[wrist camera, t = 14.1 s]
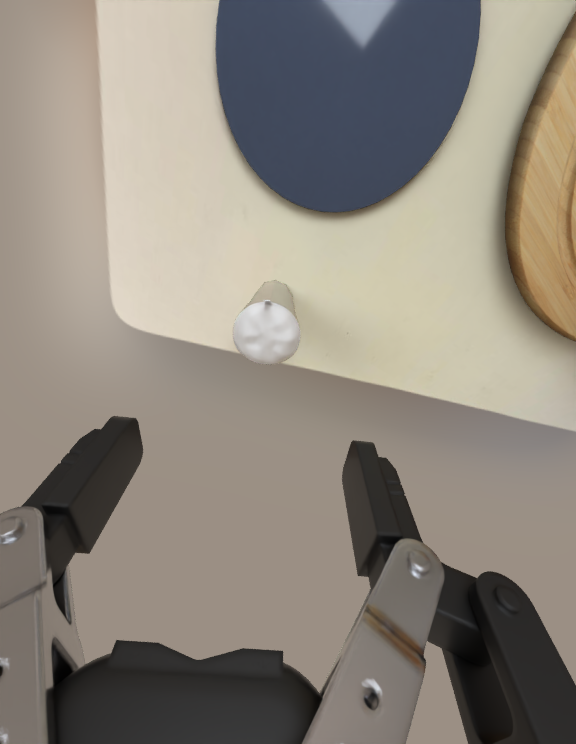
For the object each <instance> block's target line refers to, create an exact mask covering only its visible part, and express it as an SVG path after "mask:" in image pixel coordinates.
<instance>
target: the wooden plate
mask: <svg viewBox="0 0 576 744" xmlns="http://www.w3.org/2000/svg"><path fill="white" fill-rule="evenodd" d="M505 238H506V246H507V254H508V259H509V263H510V268H511V271H512V274H513V277H514V280H515V283H516V285H517V287H518V289H519V291H520V293H521V295H522V297H523V298H524V300H525V302H526V303H527V305H528V306H529V307H530V309H531V310H532V311H533V312H534V313H535V314H536V315H537V316H538V317H539V318H540V319H541V320H542V321H543V322H544V323H545V324H546V325H548V326H549V327H550V328H551V329H553V330H554V331H556V332H558V333H559V334H561V335H563V336H564V337H567V338H569V339H571V340H573V341H576V12H575V14H574V16H573V17H572V19H571V21H570V23H569V25H568V27H567V28H566V30H565V32H564V34H563V36H562V38H561V40H560V41H559V43H558V45H557V47H556V49H555V51H554V53H553V55H552V57H551V59H550V61H549V63H548V66H547V68H546V70H545V72H544V74H543V76H542V79H541V81H540V83H539V85H538V88H537V90H536V93H535V95H534V97H533V100H532V102H531V104H530V107H529V110H528V112H527V115H526V117H525V120H524V123H523V126H522V129H521V132H520V136H519V139H518V143H517V147H516V151H515V155H514V159H513V164H512V169H511V175H510V180H509V185H508V192H507V202H506V212H505Z"/></svg>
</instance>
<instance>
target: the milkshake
mask: <svg viewBox="0 0 576 744" xmlns="http://www.w3.org/2000/svg"><path fill="white" fill-rule="evenodd" d="M233 339H234V343H235V345H236V347H237V349H238V351H239V352H240V353H241V354H242V355H244V356H245V357H247V358H248V359H249V360H251V361H253V362H255V363H258V364H266V365H267V364H268V365H269V364H270V365H272V364H277V363H280V362H283V361H285V360H287V359H288V358H290V357H291V356H292V355H293V354H294V353H295V352H296V350H297V348H298V345H299V342H300V327H299V324H298V320H297V317H296V312H295V307H294V301H293V296H292V294H291V292H290V290H289V288H288V287H287V285H286V284H284V283H281V282H279V281H277V280H273V281H268V282H264V283H263V285H262V286H261V287H260V288H259V289H258V291H257V292H256V293H255V295H254V296H253V298H252V299H251V301H250V302H249V303H248V304H247V305H246V306H245V308H244V309H243V310H242V311H241V312H240V314H239V315H238V316H237V318H236V320H235V323H234V327H233Z"/></svg>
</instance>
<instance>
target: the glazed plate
mask: <svg viewBox="0 0 576 744" xmlns="http://www.w3.org/2000/svg"><path fill="white" fill-rule="evenodd" d="M480 15H481V4H480V0H219V8H218V16H217V24H216V65H217V76H218V83H219V89H220V95H221V99H222V103H223V107H224V111H225V115H226V118H227V120H228V123H229V126H230V129H231V132H232V134H233V136H234V138H235V140H236V142H237V144H238V146H239V148H240V150H241V152H242V154H243V155H244V157H245V158H246V160H247V162H248V163H249V165H250V166H251V167H252V169H253V170H254V171H255V172H256V173H257V175H258V176H259V177H260V178H261V179H262V180H263V181H264V182H265V183H266V184H267V185H268V186H269V187H270V188H271V189H272V190H274V191H275V192H276V193H278V194H279V195H280V196H282V197H283V198H285V199H287V200H289V201H291V202H292V203H294V204H296V205H299V206H302V207H305V208H307V209H311V210H316V211H321V212H346V211H352V210H356V209H361V208H364V207H367V206H369V205H372V204H374V203H377V202H379V201H381V200H382V199H384V198H386V197H388V196H390V195H391V194H393V193H394V192H396V191H397V190H398V189H400V188H401V187H403V186H404V185H405V184H406V183H407V182H408V181H410V180H411V179H412V178H413V177H414V176H415V175H416V174H417V173H418V172H419V171H420V170H421V169H422V168H423V167H424V165H425V164H426V163H427V162H428V161H429V160H430V158H431V157H432V156H433V154H434V153H435V152H436V150H437V149H438V147H439V146H440V145H441V143H442V141H443V140H444V138H445V136H446V135H447V133H448V131H449V130H450V128H451V126H452V124H453V122H454V120H455V118H456V115H457V113H458V111H459V109H460V107H461V104H462V102H463V99H464V96H465V93H466V91H467V88H468V85H469V81H470V77H471V74H472V70H473V66H474V62H475V57H476V51H477V45H478V39H479V28H480Z"/></svg>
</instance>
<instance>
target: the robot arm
mask: <svg viewBox="0 0 576 744" xmlns="http://www.w3.org/2000/svg"><path fill="white" fill-rule="evenodd" d="M142 455H143V446H142V441H141V435H140V430H139V425H138V421H137V420H136V418H128V417H118V416H113V417H111V418H110V419H109V420H108V422H107V423H106V424H105V425H104V427H103V428H102V429H101V430H100V429H94V430H93V431H91V432H90V433H88V434H87V435H85V436H84V437H82V438H81V439H79V441H78V442H77V443H76V444H75V445H74V446H73V448H72V449H71V450H70V453H68V454H67V455H66V456H65V457H64V458H63V459H62V460H61V463H60V464H58V465H57V466H56V467H55V468H54V470H53V471H52V472H51V473H50V475H49V476H48V477H47V478H46V479H45V480H44V481H43V482H42V484H41V485H40V486H39V487H38V488H37V489H36V491H35V492H34V493H33V494H32V495H31V497H30V498H29V499H28V500H27V501H26V502H25V503H24V504H23V505H22V506H21V507H17V508H14V509H10V510H8V511H5V512H3V513H1V514H0V744H406V740H407V737H408V733H409V729H410V726H411V722H412V718H413V715H414V711H415V707H416V704H417V700H418V696H419V692H420V689H421V685H422V682H423V678H424V673H425V668H426V667H425V666H426V660H425V659H424V655H423V654H424V649H425V645H426V642H427V641H428V642H430V643H432V644H434V645H436V646H438V647H440V648H442V651H443V654H444V658H445V661H446V665H447V669H448V672H449V676H450V680H451V683H452V686H453V690H454V694H455V697H456V701H457V705H458V708H459V712H460V715H461V719H462V723H463V726H464V730H465V733H466V737H467V741H468V744H576V685H575V683H574V681H573V679H572V678H571V676H570V674H569V672H568V670H567V668H566V666H565V664H564V663H563V661H562V659H561V657H560V655H559V653H558V651H557V649H556V647H555V645H554V644H553V642H552V640H551V638H550V636H549V634H548V632H547V631H546V629H545V627H544V625H543V623H542V621H541V619H540V617H539V615H538V613H537V611H536V610H535V608H534V606H533V604H532V602H531V601H530V599H529V598H528V597H527V595H526V594H525V593H524V591H523V590H522V589H521V588H520V587H519V586H518V585H517V584H516V583H514V582H513V581H512V580H510V579H509V578H507V577H505V576H503V575H502V574H499V573H496V572H484V573H482V574H481V575H480V576H479V577H478V578H475V577H473V576H470V575H468V574H466V573H463V572H461V571H458V570H456V569H454V568H451V567H449V566H447V565H445V564H443V563H442V562H440V560H439V558H438V557H437V555H436V554H435V553H434V552H433V551H432V550H431V549H430V548H429V547H428V546H427V545H425V544H424V543H423V541H422V539H421V537H420V534H419V532H418V529H417V526H416V523H415V521H414V518H413V515H412V513H411V510H410V507H409V504H408V501H407V499H406V496H404V494H405V493H404V490H403V488H402V485H401V484H400V483H401V482H400V479H399V477H398V474H397V471H396V469H395V468H394V467H393V465H392V464H391V463H390V462H389V461H388V459H387V458H382V457H378V454H377V451H376V448H375V445H374V443H372V442H364V441H352V442H351V445H350V448H349V451H348V455H347V458H346V461H345V464H344V467H343V475H342V482H343V489H344V495H345V501H346V507H347V513H348V519H349V525H350V531H351V537H352V543H353V550H354V555H355V561H356V567H357V574H358V576H366V577H369V582H370V587H371V589H370V591H369V593H368V595H367V597H366V599H365V601H364V604H363V606H362V607H361V609H360V612H359V614H358V616H357V618H356V620H355V622H354V624H353V626H352V628H351V631H350V632H349V634H348V636H347V638H346V641H345V643H344V645H343V647H342V649H341V651H340V653H339V654H338V656H337V658H336V660H335V662H334V664H333V666H332V668H331V670H330V673H329V674H328V677H327V678H326V681H325V683H324V685H323V687H322V689H321V691H320V693H319V692H318V691H317V689H316V688H315V687H314V686H313V685H312V684H311V683H310V681H309V680H308V679H307V678H306V677H304V676H303V675H302V674H301V673H300V672H299V671H297V670H296V669H294V668H293V667H291V666H289V665H287V664H285V663H283V651H274V650H259V649H244V648H243V649H240V650H235V651H233V652H228V653H225V654H221V655H218V656H214V657H210V658H207V659H203V660H195V659H192V658H190V657H188V656H186V655H184V654H181V653H179V652H177V651H175V650H172V649H170V648H168V647H166V646H164V645H162V644H159V643H151V642H136V641H120V640H117V641H116V643H115V645H114V648H113V650H112V653H111V654H107V655H105V656H102V657H100V658H97V659H95V660H93V661H91V662H89V663H88V664H86V665H85V660H84V654H83V650H82V646H81V642H80V639H79V636H78V632H77V627H76V621H75V620H76V619H75V612H74V603H73V595H72V586H71V579H70V570H69V565H68V564H69V562H70V560H71V559H72V557H73V555H74V554H75V553H87V554H88V553H90V552H91V549H92V548H93V546H94V544H95V543H96V541H97V539H98V537H99V535H100V534H101V532H102V530H103V528H104V527H105V525H106V523H107V521H108V520H109V518H110V516H111V514H112V512H113V511H114V509H115V507H116V505H117V504H118V502H119V500H120V498H121V496H122V495H123V493H124V491H125V489H126V488H127V486H128V484H129V482H130V480H131V479H132V477H133V475H134V473H135V472H136V470H137V468H138V466H139V464H140V462H141V459H142Z"/></svg>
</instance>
